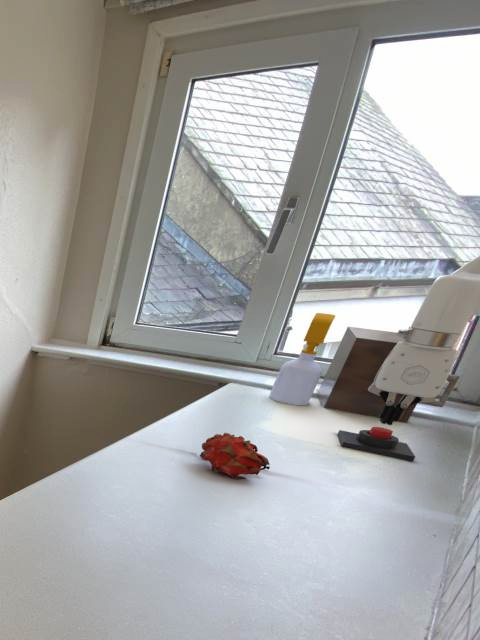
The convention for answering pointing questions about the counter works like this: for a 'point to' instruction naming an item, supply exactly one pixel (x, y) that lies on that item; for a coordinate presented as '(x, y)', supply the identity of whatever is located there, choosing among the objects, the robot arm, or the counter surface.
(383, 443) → the red and black buzzer
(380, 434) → the button
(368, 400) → the cupboard
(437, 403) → the door
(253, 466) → the dragon fruit
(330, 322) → the soap bottle
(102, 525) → the counter surface
